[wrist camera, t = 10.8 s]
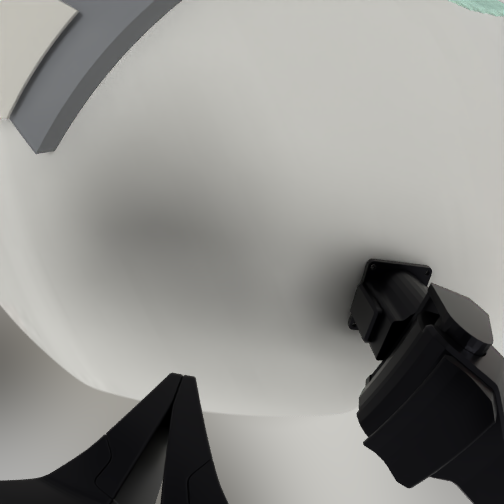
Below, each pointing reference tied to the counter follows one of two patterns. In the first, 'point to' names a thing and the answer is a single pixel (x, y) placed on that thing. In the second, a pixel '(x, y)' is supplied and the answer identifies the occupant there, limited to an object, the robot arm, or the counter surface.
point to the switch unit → (80, 65)
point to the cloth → (482, 6)
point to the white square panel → (26, 42)
